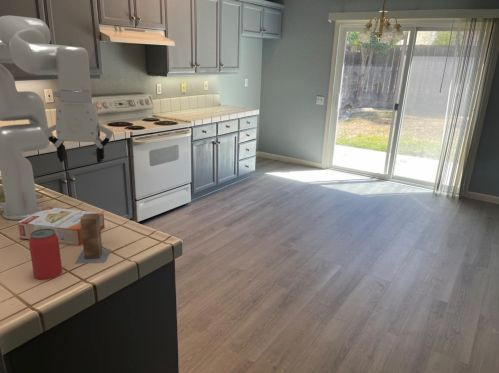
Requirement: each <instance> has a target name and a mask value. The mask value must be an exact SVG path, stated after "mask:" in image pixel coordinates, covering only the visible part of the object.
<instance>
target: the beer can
mask: <svg viewBox="0 0 499 373" xmlns="http://www.w3.org/2000/svg"><path fill="white" fill-rule="evenodd" d="M28 247H29V252H30V260H31V265H32V271H33V272H32V273H33V276H34V278H35V279H37V280H40V281H41V280H42V281H44V280H45V281H46V280H51V279H54V278H56V277H58V276H60V275H61V274H62V272H63V266H62V258H61V249H60V243H59V241H58V237H57V235H56V233H55V230H53V229H49V228H45V229H39V230H36V231H33V232H32V233H31V234H30V239H28Z"/></svg>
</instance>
